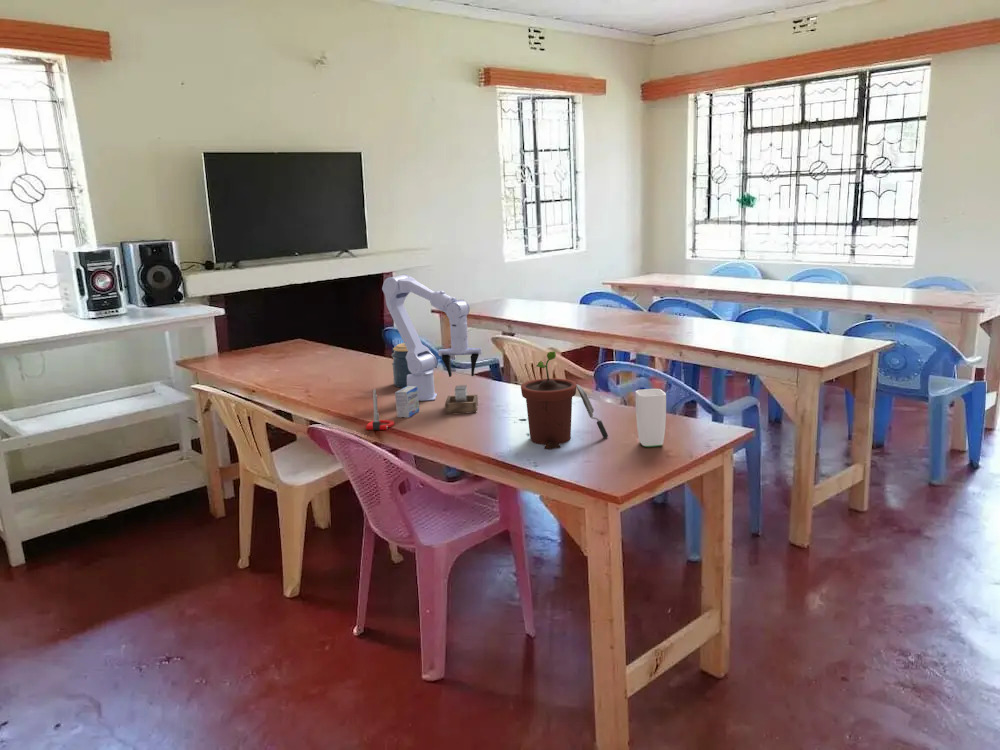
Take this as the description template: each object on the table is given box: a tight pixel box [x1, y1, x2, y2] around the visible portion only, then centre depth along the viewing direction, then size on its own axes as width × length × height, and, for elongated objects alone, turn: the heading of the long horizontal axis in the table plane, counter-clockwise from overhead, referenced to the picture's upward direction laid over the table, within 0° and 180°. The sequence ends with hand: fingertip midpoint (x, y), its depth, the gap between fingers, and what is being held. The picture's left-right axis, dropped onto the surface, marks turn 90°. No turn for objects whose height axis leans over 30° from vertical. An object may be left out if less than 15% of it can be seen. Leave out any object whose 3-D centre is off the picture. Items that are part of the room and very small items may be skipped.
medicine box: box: [394, 386, 420, 419], centre depth 256 cm, size 8×4×9 cm, turn 160°
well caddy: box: [444, 394, 479, 415], centre depth 260 cm, size 10×10×4 cm
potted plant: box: [520, 350, 609, 450], centre depth 221 cm, size 18×22×25 cm
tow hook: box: [365, 388, 396, 431], centre depth 245 cm, size 8×13×9 cm
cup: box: [635, 388, 667, 448], centre depth 214 cm, size 7×7×15 cm
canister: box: [391, 342, 412, 389], centre depth 296 cm, size 13×13×18 cm
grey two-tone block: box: [454, 384, 468, 402], centre depth 259 cm, size 4×5×7 cm
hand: (461, 375), depth 267 cm, fingers open, 7 cm apart
